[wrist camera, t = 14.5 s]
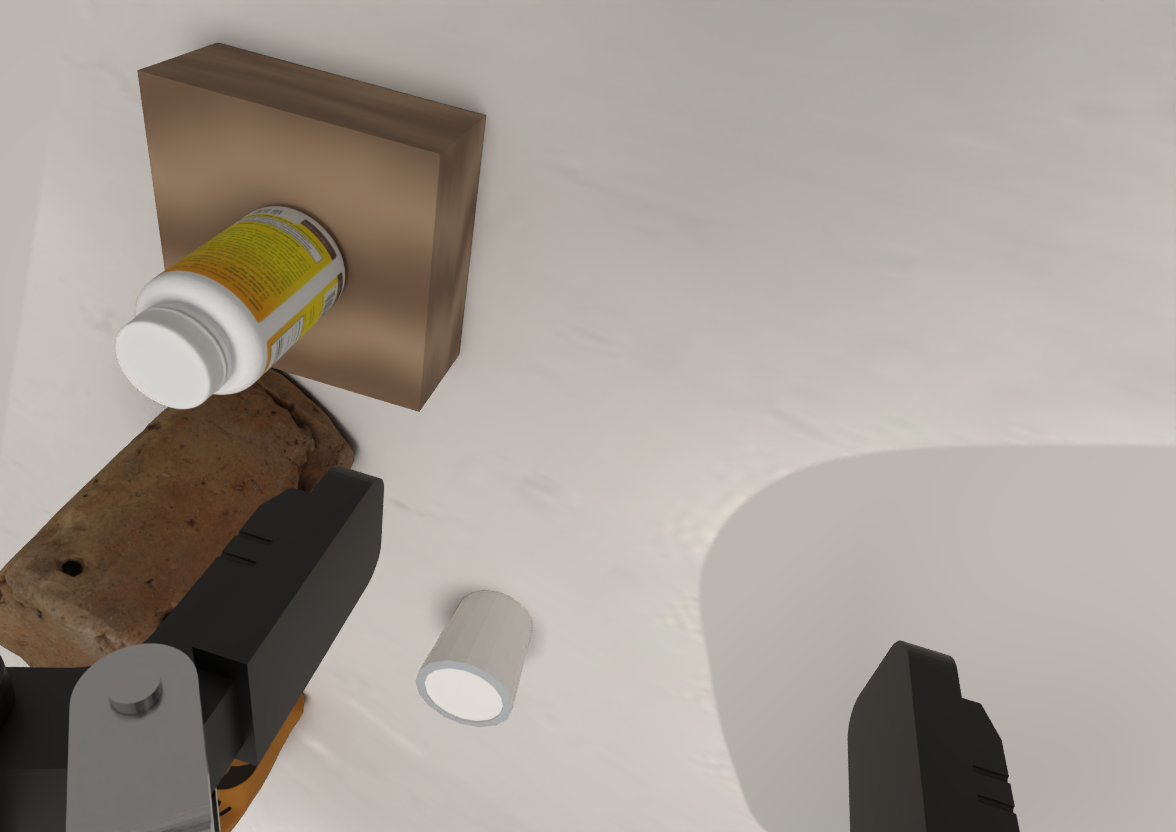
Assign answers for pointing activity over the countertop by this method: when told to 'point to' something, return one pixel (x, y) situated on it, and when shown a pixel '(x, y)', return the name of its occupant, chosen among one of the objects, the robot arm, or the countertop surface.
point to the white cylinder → (477, 660)
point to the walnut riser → (328, 201)
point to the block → (159, 521)
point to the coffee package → (250, 776)
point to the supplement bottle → (230, 308)
